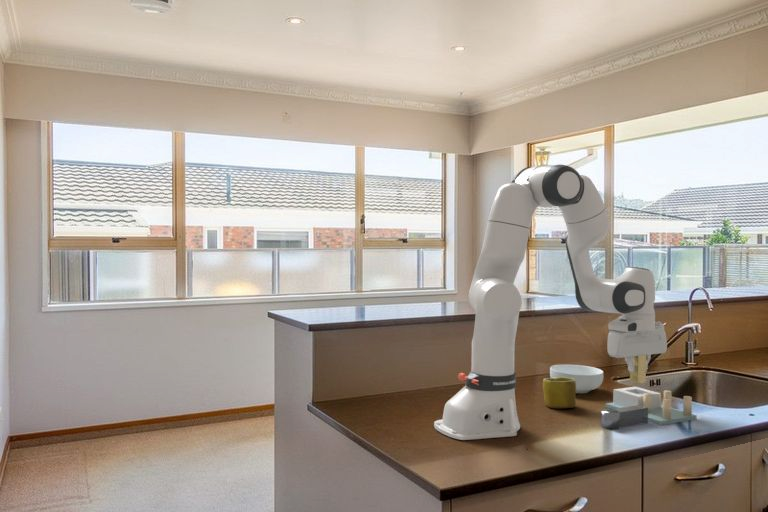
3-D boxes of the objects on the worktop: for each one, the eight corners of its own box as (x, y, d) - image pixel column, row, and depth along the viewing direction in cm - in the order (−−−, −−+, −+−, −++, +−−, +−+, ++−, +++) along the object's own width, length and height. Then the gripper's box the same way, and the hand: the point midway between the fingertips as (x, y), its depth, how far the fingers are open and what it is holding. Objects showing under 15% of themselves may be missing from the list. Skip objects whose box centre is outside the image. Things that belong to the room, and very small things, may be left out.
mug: (584, 406, 165) (573, 371, 167) (548, 415, 167) (537, 380, 170) (581, 403, 177) (571, 370, 179) (548, 411, 179) (538, 379, 181)
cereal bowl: (608, 398, 181) (608, 375, 181) (552, 395, 184) (552, 373, 184) (598, 385, 198) (598, 364, 198) (547, 383, 201) (547, 362, 200)
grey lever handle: (610, 430, 150) (610, 414, 150) (597, 425, 154) (597, 410, 154) (650, 423, 156) (650, 408, 156) (636, 418, 160) (636, 404, 160)
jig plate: (660, 425, 154) (660, 402, 154) (605, 406, 172) (605, 386, 171) (696, 418, 160) (696, 397, 160) (640, 401, 177) (640, 382, 177)
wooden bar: (638, 383, 168) (638, 355, 167) (629, 381, 170) (630, 353, 170) (645, 382, 169) (645, 354, 169) (637, 380, 172) (637, 353, 171)
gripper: (654, 319, 176) (654, 365, 177) (603, 323, 168) (603, 371, 168) (672, 322, 171) (672, 369, 171) (620, 326, 162) (620, 376, 163)
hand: (637, 370), depth 170 cm, fingers closed on wooden bar, 3 cm apart
